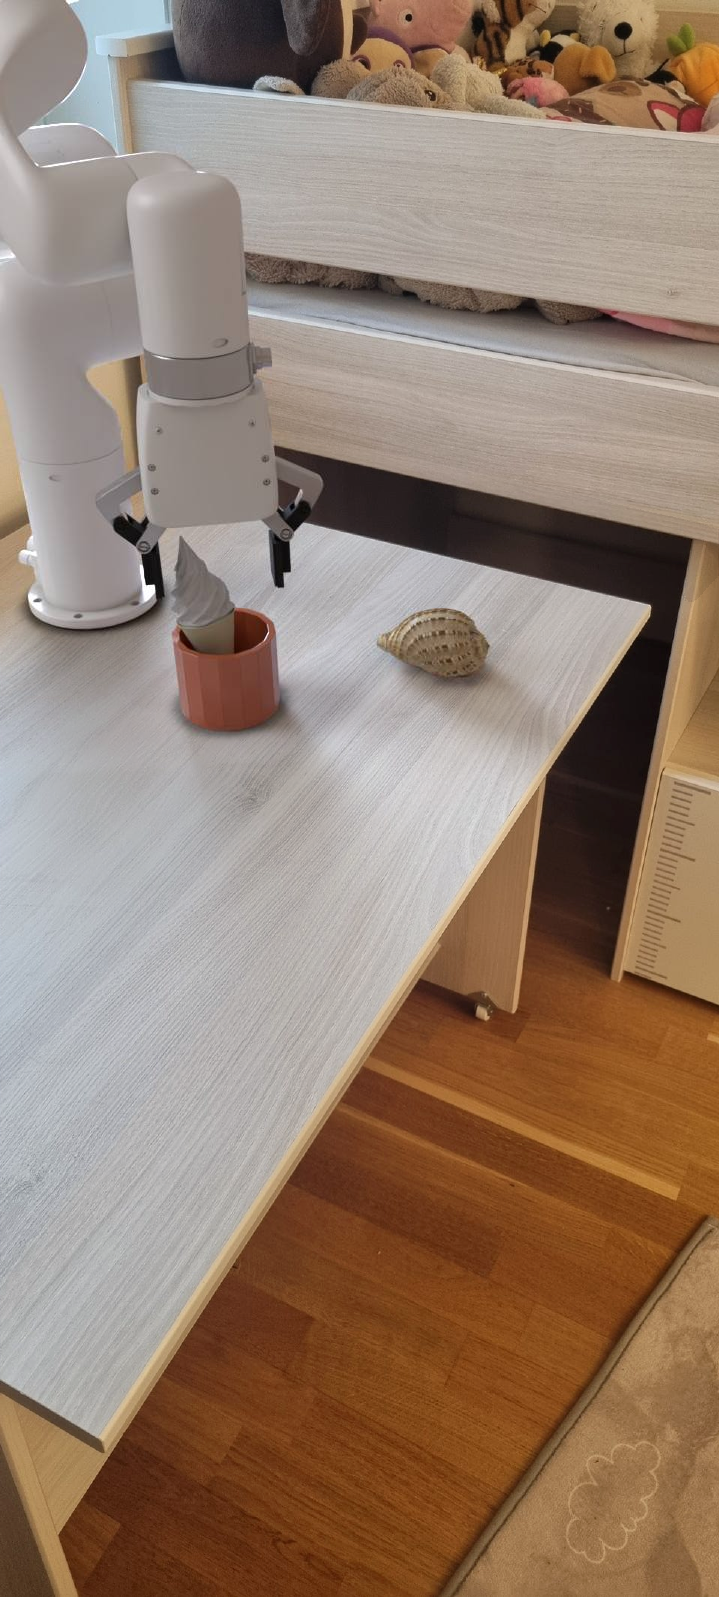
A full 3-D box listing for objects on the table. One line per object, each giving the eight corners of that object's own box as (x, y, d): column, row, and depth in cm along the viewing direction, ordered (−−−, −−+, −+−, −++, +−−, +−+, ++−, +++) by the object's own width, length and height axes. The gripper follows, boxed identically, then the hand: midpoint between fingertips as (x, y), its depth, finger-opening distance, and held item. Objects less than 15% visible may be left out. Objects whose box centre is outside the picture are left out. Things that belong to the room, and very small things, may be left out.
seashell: (392, 711, 106) (497, 677, 102) (363, 657, 103) (470, 619, 99) (402, 666, 112) (502, 631, 108) (374, 613, 109) (476, 576, 105)
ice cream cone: (202, 689, 104) (152, 529, 96) (259, 677, 104) (213, 515, 96) (200, 718, 100) (148, 553, 92) (259, 705, 100) (212, 539, 91)
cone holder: (160, 710, 102) (151, 639, 97) (224, 667, 107) (217, 597, 103) (237, 742, 98) (230, 669, 93) (299, 695, 103) (295, 624, 99)
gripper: (311, 344, 89) (319, 555, 100) (75, 360, 87) (108, 574, 97) (327, 377, 83) (333, 597, 94) (74, 395, 81) (110, 619, 92)
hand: (219, 585), depth 96 cm, fingers open, 9 cm apart
